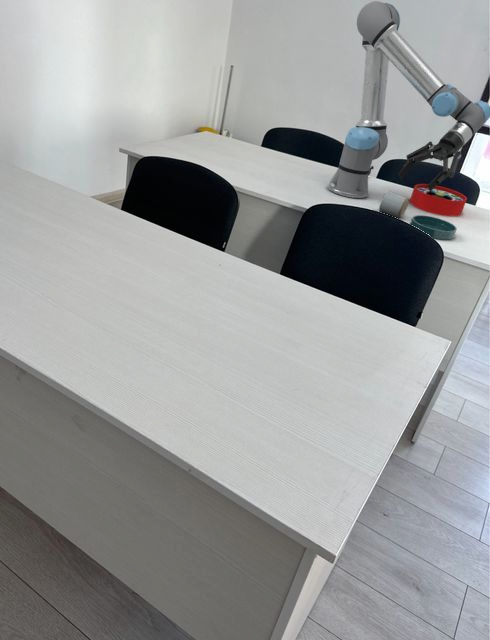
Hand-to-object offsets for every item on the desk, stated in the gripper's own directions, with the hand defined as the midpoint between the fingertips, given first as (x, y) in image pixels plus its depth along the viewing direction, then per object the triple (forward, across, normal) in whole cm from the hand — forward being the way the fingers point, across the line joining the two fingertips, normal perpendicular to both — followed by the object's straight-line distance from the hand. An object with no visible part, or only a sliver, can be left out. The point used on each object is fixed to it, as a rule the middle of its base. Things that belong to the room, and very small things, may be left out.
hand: (414, 182), depth 207 cm
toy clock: (-8, -3, +24) cm, 26 cm away
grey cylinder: (+13, -1, +4) cm, 13 cm away
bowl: (+12, +17, +5) cm, 21 cm away
